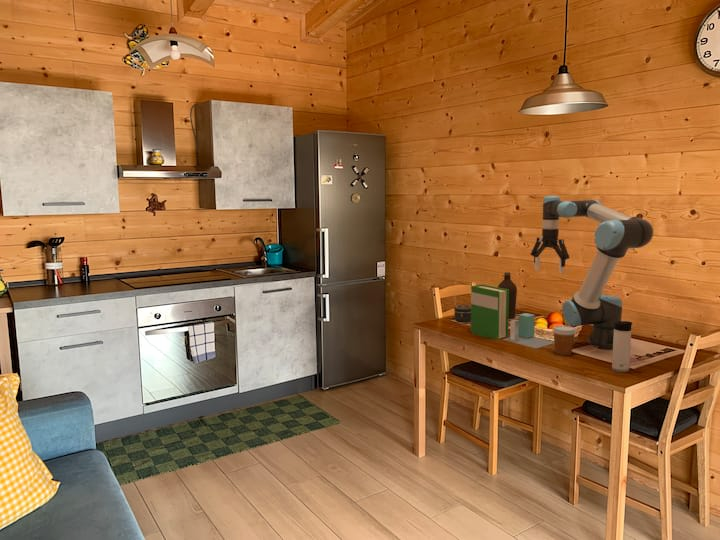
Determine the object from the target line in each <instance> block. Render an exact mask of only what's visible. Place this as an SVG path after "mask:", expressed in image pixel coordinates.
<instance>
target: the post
mask: <svg viewBox="0 0 720 540" xmlns="http://www.w3.org/2000/svg"><path fill="white" fill-rule="evenodd" d="M509 326H510V327H509V329H510V331H509V332H510V333H509V335H510V336H509V337H510V339H507V340H509V341H508V342H510V341H512V342H511V343H513V342H517V341H521V340H520V339H518V330H519V319H518V320H517V319H511V320H510V325H509Z"/></svg>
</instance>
